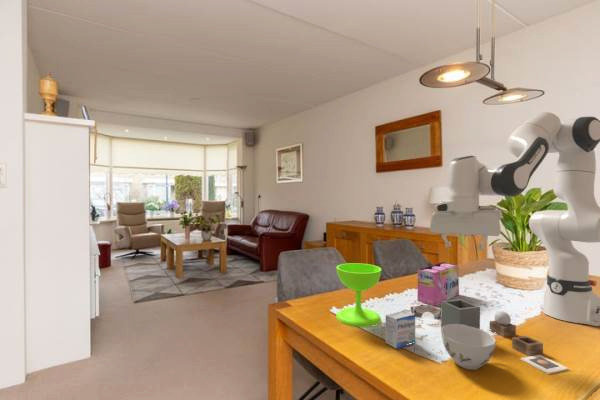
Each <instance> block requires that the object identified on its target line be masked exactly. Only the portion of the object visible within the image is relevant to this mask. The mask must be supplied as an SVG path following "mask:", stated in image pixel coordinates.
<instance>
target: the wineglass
mask: <svg viewBox="0 0 600 400" xmlns="http://www.w3.org/2000/svg"><path fill="white" fill-rule="evenodd" d="M335 269H336V275H337V276H338V279H339V280H340V282H341V283H342V284H343V285H344V286H345V287H346V288H348V289H350V290H353V291H355V306H354V307H346V308H343V309H341V310H339V311H338V312H337V313H336V315H335V317H336V318H335V319H336V320H337V321H338V322H340V323H341V324H343V325H347V326H350V327H356V328H357V327H358V328H368V327H367V326H371V327H373V326H372V325H375V326H376V324H377V325H379V324H380V323H381V322H382V319H381V317H380V315H379V314H378V313H377V312H376V311H374V310H371V309H368V308H364V307H362V292H364V291H368V290H370V289H371V288H374V286H375V285H376V284H377V283H378V282H379V280H380V278H381V275H382V274H381V273H382V268H381V267H380V266H379V265H378V266H377V265H374V264H370V263H358V262H357V263H355V262H351V263H349V262H347V263H341V264H339V265H337V266H336V268H335ZM379 322H380V323H379ZM378 323H379V324H378Z"/></svg>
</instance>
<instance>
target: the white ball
mask: <svg viewBox="0 0 600 400" xmlns="http://www.w3.org/2000/svg"><path fill="white" fill-rule="evenodd" d="M494 321H496V322H497V323H498V324H500V325H502V326H506V325H509V324H510V323H511V321H512V319H511V316H510V315H509V313H508V312H505V311H502V310H501V311H497V312H496V313H495V314H494Z"/></svg>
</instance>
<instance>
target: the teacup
mask: <svg viewBox="0 0 600 400" xmlns="http://www.w3.org/2000/svg"><path fill="white" fill-rule="evenodd" d="M440 334H441V338H442V344H443V346H444V348H445V350H446V352H447V354H448V355H449V357H450V358H451V359H452V360H453V362H454V363H455V365H457V366H459V367H461V368H463V369H465V370H471V371H473V370H474V371H476V370H479V368H481V367H483V366H485V365H486V364H487V363H488V362H489V361H490V360H491V358H492V357H493V354H494V353H495V351H496V350H495V349H496V344H497V340H496V338H495V337H494V336H492V335H491V334H490V333H489V332H488V331H485V330H483V329H481V328H480V329H477V328H474V327H470V326H467V325H461V324H460V325H459V324H449V325H445V326H444V327H442V330H441V329H440Z"/></svg>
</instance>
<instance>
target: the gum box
mask: <svg viewBox="0 0 600 400" xmlns="http://www.w3.org/2000/svg"><path fill="white" fill-rule="evenodd" d="M459 280H460V279H459V264H455V265H453V264H451V263H450V264H449V263H447V262H445V261H444V262H438V263H435V264H432V265H428V266H424V267H421V268H417V302H419V303H422V304H423V303H424V304H427V305H431V306H437V305H441V301H449V300H452V299H453V298H455V297H457V296H459V295H460V284H459V283H460V281H459ZM454 296H455V297H454ZM452 297H453V298H452Z"/></svg>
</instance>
